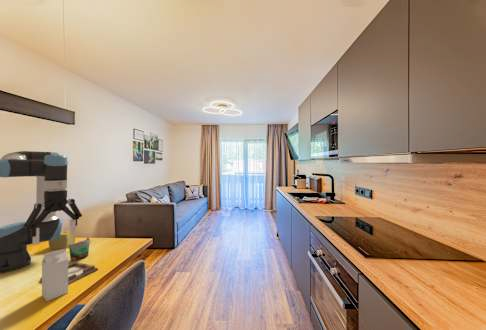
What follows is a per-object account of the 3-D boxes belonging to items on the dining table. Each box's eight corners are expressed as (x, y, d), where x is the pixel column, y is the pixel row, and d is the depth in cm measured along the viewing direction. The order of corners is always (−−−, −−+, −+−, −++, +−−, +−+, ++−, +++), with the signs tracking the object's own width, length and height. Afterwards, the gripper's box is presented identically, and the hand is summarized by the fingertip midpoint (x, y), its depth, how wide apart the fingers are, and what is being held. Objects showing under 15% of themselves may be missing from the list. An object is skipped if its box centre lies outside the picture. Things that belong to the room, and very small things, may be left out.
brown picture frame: (40, 280, 100) (40, 275, 100) (75, 265, 115) (75, 260, 115) (64, 286, 95) (64, 281, 95) (97, 270, 110) (97, 265, 110)
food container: (76, 262, 118) (76, 245, 118) (67, 261, 119) (68, 244, 119) (95, 253, 130) (95, 238, 130) (87, 253, 132) (87, 237, 132)
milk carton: (41, 295, 88) (42, 251, 88) (62, 287, 94) (63, 246, 94) (46, 301, 84) (46, 256, 85) (68, 293, 90) (68, 250, 90)
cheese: (59, 244, 146) (59, 230, 146) (76, 243, 148) (76, 229, 148) (48, 250, 136) (48, 235, 136) (66, 249, 138) (66, 234, 138)
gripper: (23, 194, 76) (23, 250, 76) (90, 187, 100) (90, 230, 100) (11, 193, 79) (10, 248, 79) (80, 187, 103) (79, 229, 102)
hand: (55, 238), depth 89 cm, fingers open, 13 cm apart
